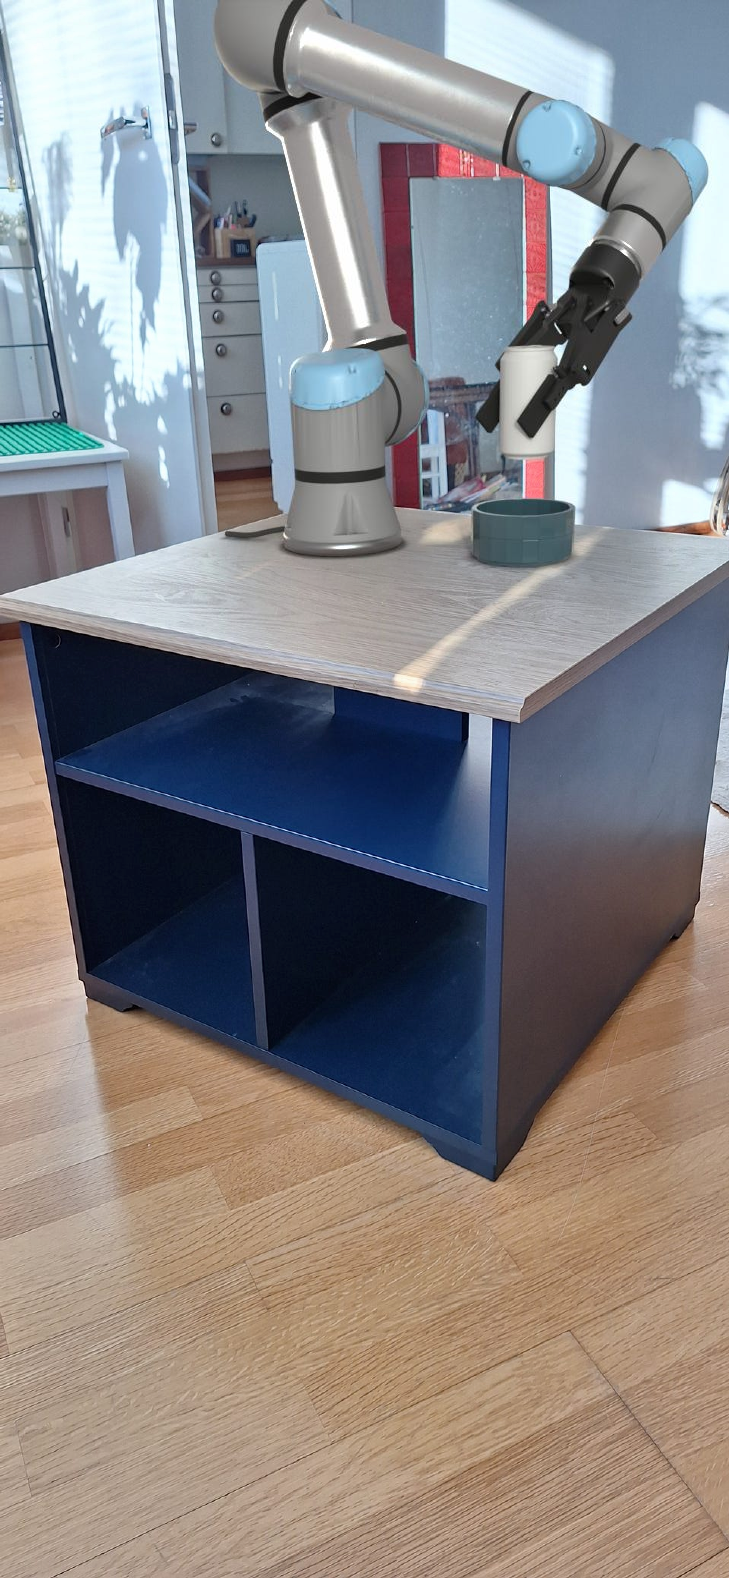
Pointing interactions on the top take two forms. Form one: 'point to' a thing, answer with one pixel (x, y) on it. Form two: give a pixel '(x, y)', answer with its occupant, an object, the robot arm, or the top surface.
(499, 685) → the top surface
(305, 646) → the top surface
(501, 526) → the bowl
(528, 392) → the beverage can
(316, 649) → the top surface
